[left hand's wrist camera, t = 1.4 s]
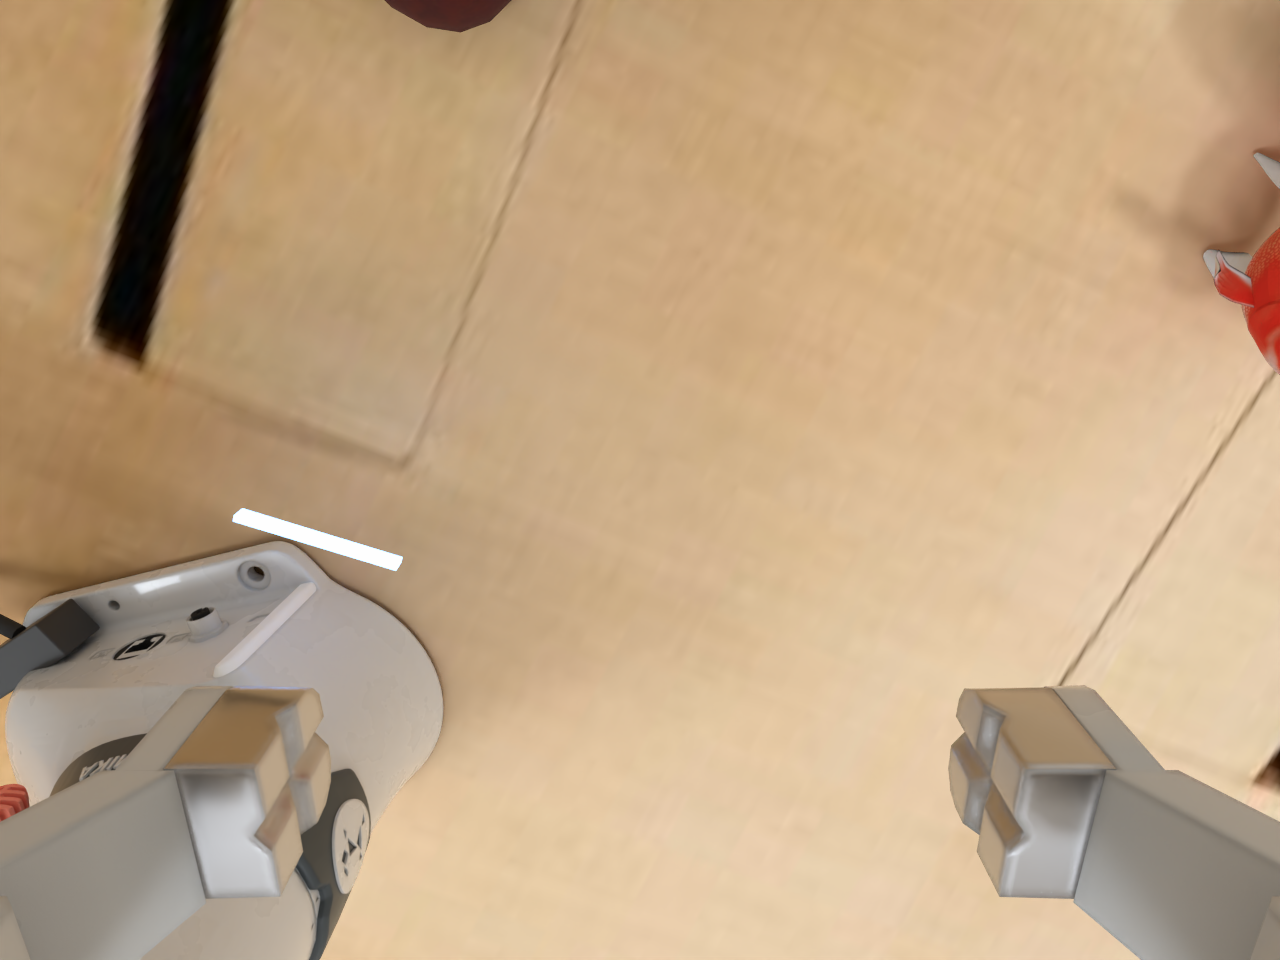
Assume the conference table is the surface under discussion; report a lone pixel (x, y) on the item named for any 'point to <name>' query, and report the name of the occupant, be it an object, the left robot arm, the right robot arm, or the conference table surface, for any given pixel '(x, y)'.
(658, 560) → the conference table surface
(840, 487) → the conference table surface
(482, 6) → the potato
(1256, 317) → the fish
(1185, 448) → the conference table surface
